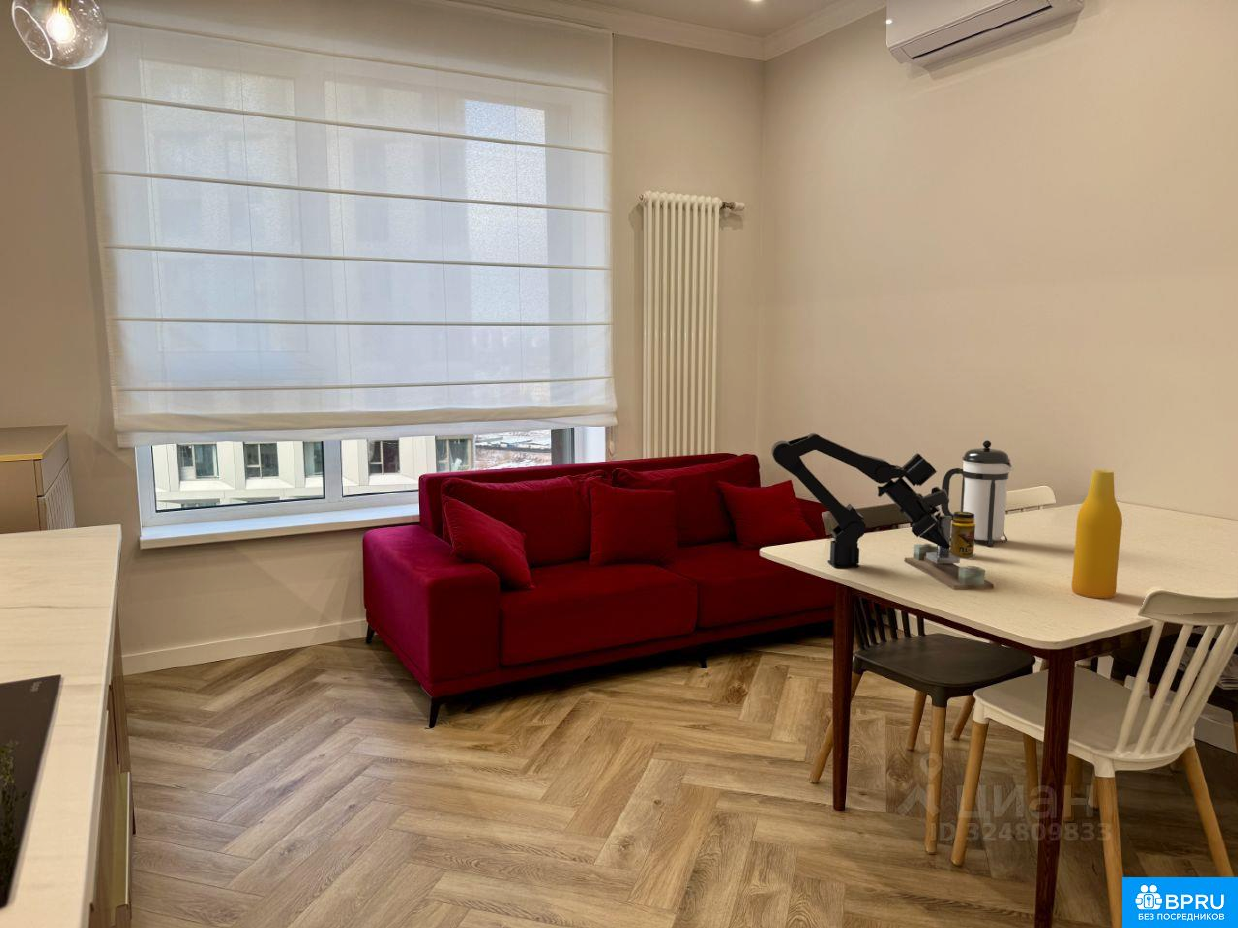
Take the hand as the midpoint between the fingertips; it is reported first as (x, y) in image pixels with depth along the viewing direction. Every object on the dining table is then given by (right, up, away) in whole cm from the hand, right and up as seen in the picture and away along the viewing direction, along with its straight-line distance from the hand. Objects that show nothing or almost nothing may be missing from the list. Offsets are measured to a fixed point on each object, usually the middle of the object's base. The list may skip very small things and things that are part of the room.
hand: (949, 544), depth 223 cm
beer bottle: (+27, -10, -18) cm, 34 cm away
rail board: (-1, -7, -1) cm, 7 cm away
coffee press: (+22, -3, +37) cm, 43 cm away
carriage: (-1, -4, +1) cm, 5 cm away
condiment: (+10, -5, +19) cm, 22 cm away
